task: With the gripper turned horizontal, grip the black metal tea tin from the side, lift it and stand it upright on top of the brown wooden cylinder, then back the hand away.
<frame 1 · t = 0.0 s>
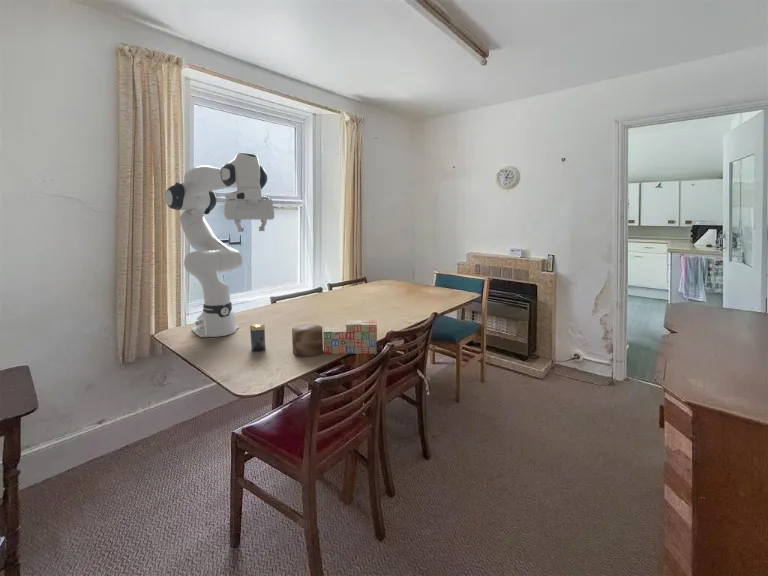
hand: (251, 231, 153), 48 cm above the table, tool pointing down, fingers open, 8 cm apart
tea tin: (258, 349, 158), on the table
brown wooden cylinder: (308, 352, 155), on the table
stack of blocks: (350, 351, 157), on the table
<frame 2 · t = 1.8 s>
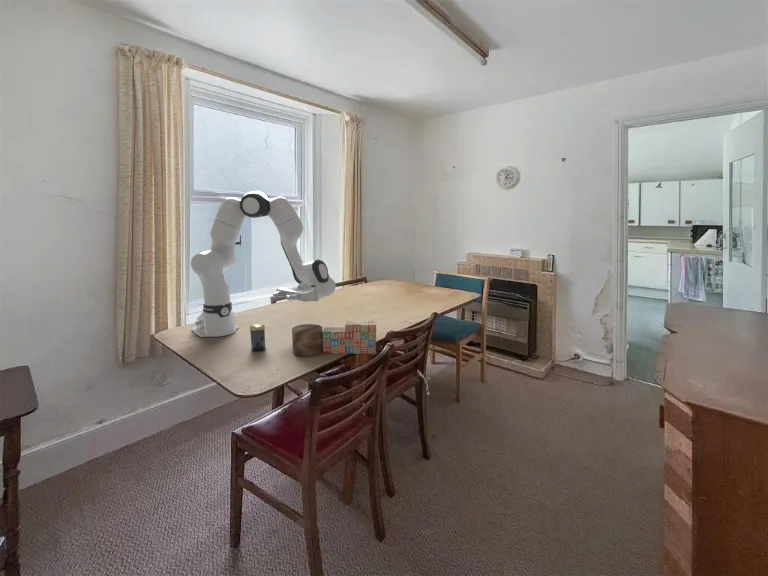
hand: (280, 296, 163), 20 cm above the table, tool horizontal, fingers open, 8 cm apart
nothing on the table moved.
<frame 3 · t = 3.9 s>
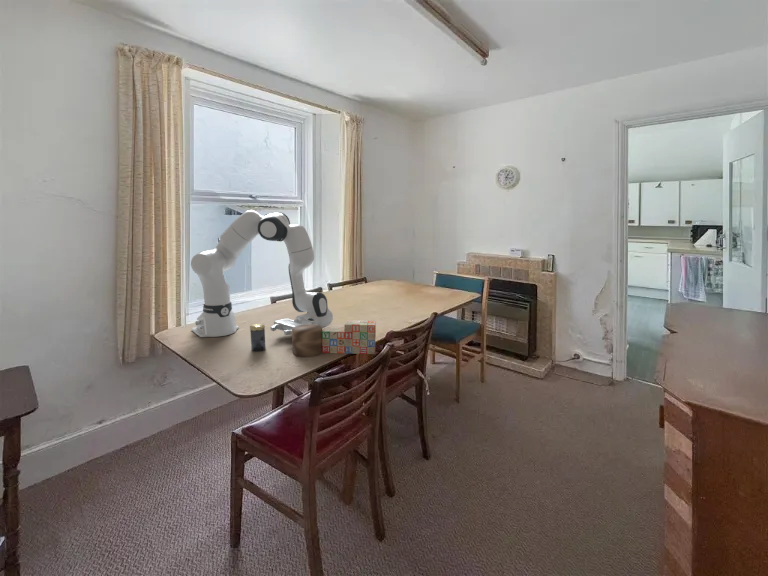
hand: (278, 331, 165), 5 cm above the table, tool horizontal, fingers open, 8 cm apart
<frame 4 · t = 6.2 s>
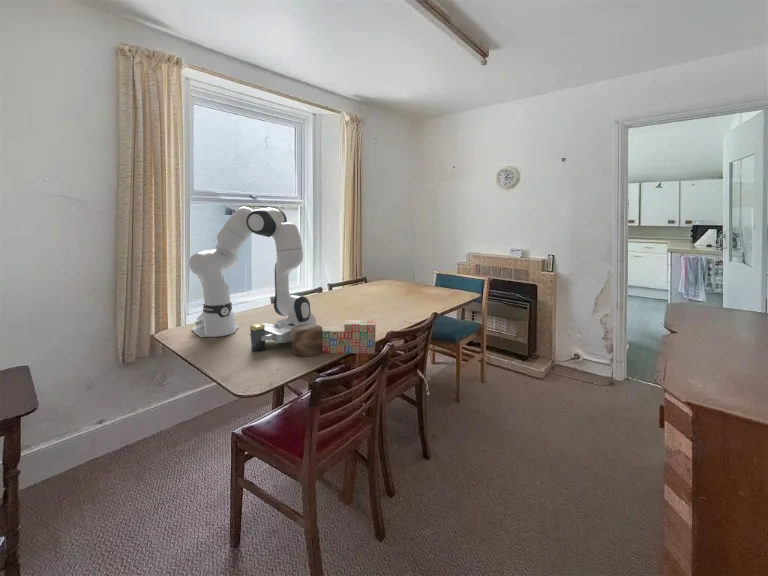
hand: (256, 337, 156), 6 cm above the table, tool horizontal, fingers closed on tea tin, 5 cm apart
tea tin: (258, 349, 158), on the table, touching gripper
everything else where it was.
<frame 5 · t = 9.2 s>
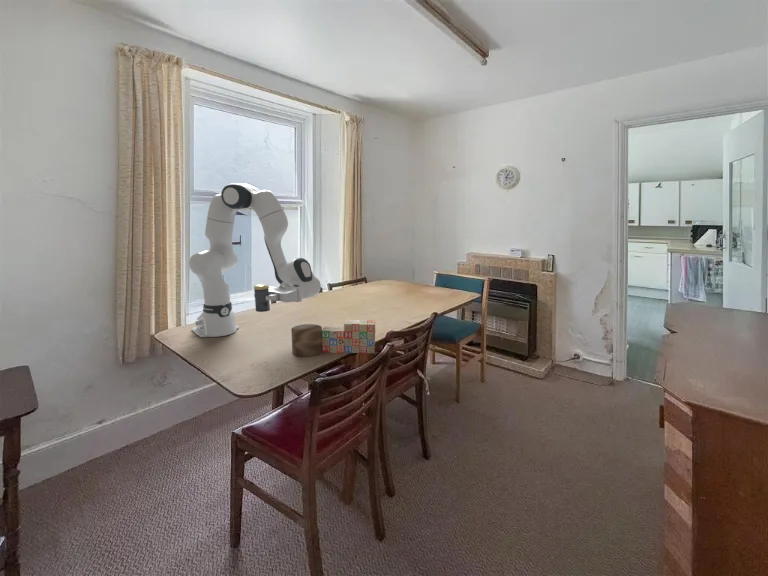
hand: (260, 297, 153), 22 cm above the table, tool horizontal, fingers closed on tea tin, 5 cm apart
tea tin: (262, 310, 154), point 17 cm above the table, touching gripper
when the fingers open (17 cm above the table, at t = 11.9 s): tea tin drops 2 cm, resting on brown wooden cylinder.
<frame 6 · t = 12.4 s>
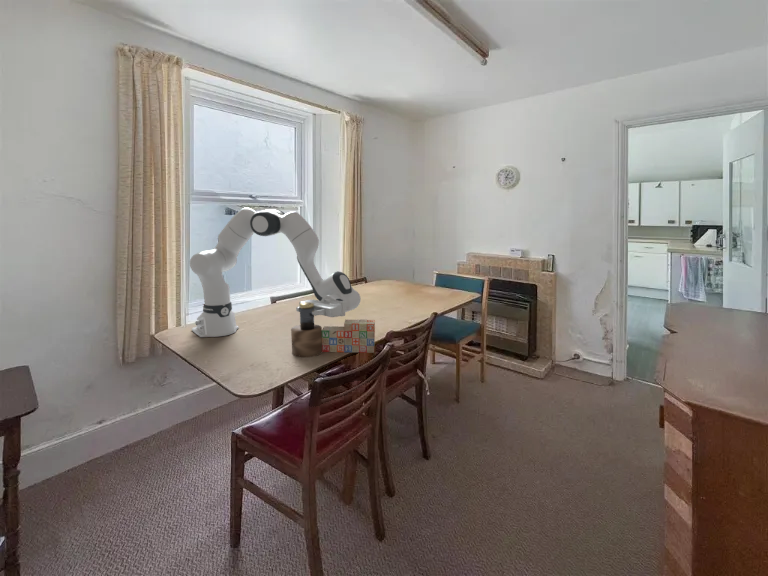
hand: (305, 311, 152), 17 cm above the table, tool horizontal, fingers open, 8 cm apart
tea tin: (307, 328, 154), point 10 cm above the table, touching brown wooden cylinder
brown wooden cylinder: (307, 352, 155), on the table, touching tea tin
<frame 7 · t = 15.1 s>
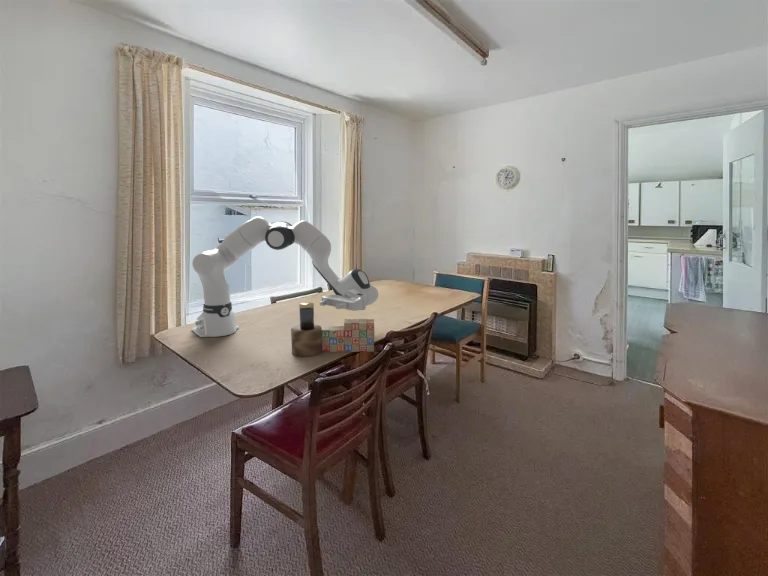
hand: (328, 305, 161), 17 cm above the table, tool horizontal, fingers open, 8 cm apart
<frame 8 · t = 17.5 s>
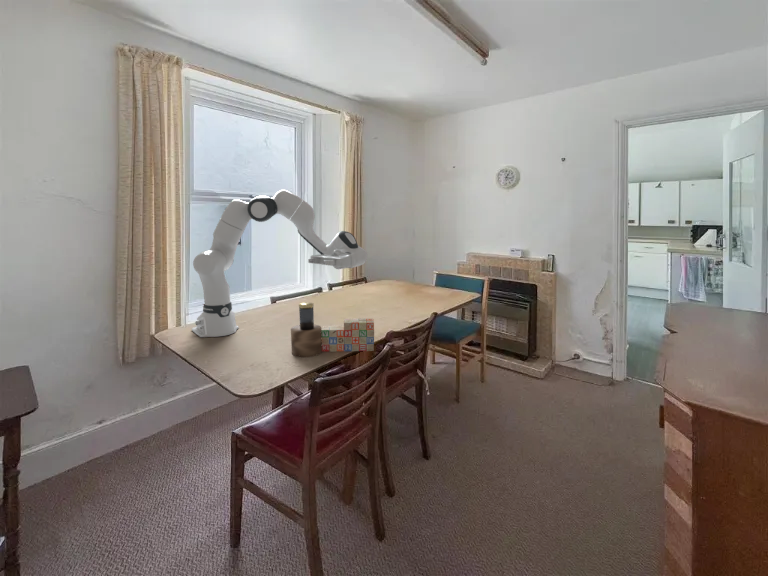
hand: (316, 262, 163), 35 cm above the table, tool horizontal, fingers open, 8 cm apart
at the end: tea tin inside the target area on the brown wooden cylinder (0.3 cm from its centre), point 10.0 cm above the brown wooden cylinder's base; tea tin tilted 0°; the gripper is holding nothing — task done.
